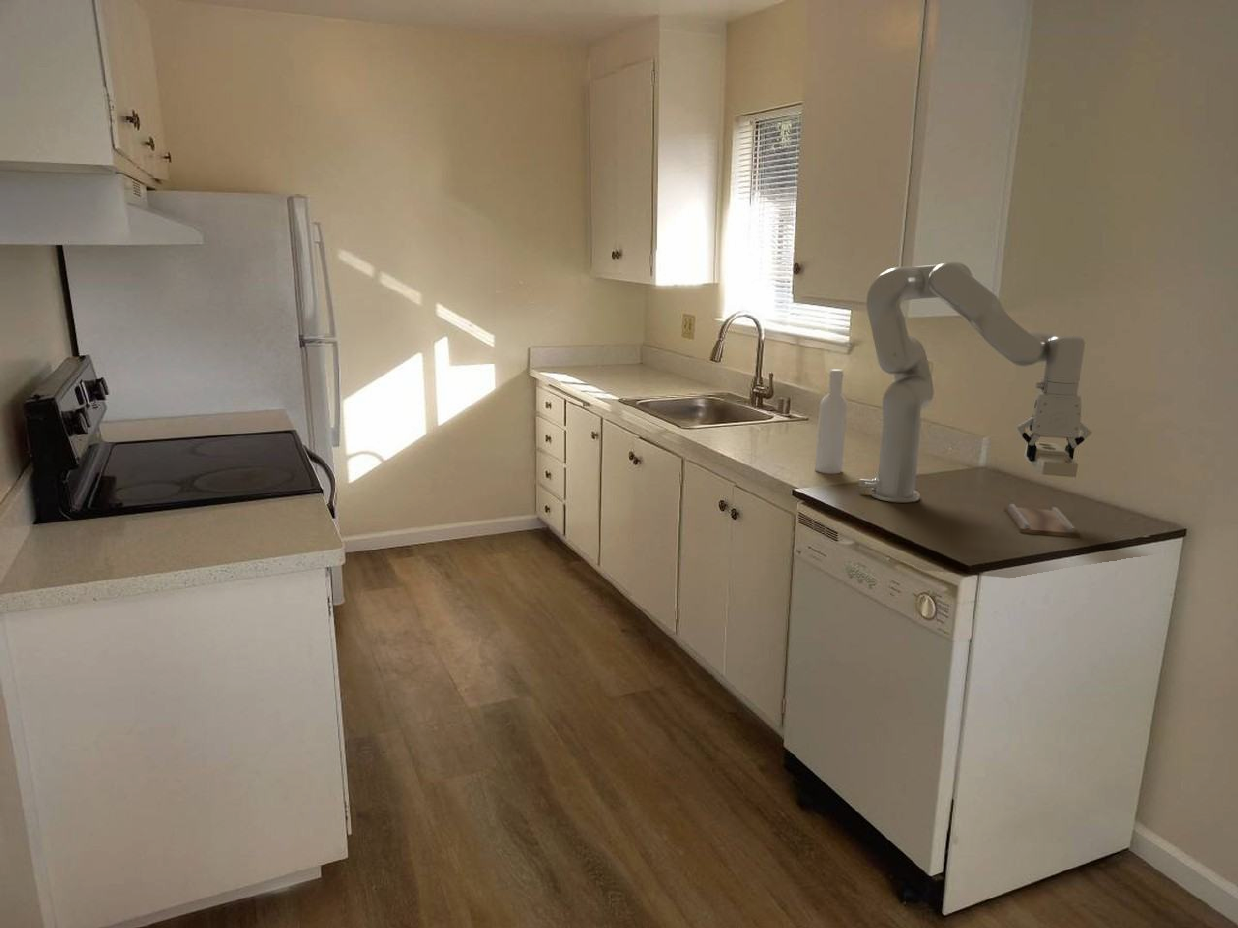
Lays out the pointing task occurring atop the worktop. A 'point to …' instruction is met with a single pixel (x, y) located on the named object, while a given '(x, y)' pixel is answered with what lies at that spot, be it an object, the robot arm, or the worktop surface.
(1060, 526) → the rail board
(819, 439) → the bottle
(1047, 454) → the electrical outlet
